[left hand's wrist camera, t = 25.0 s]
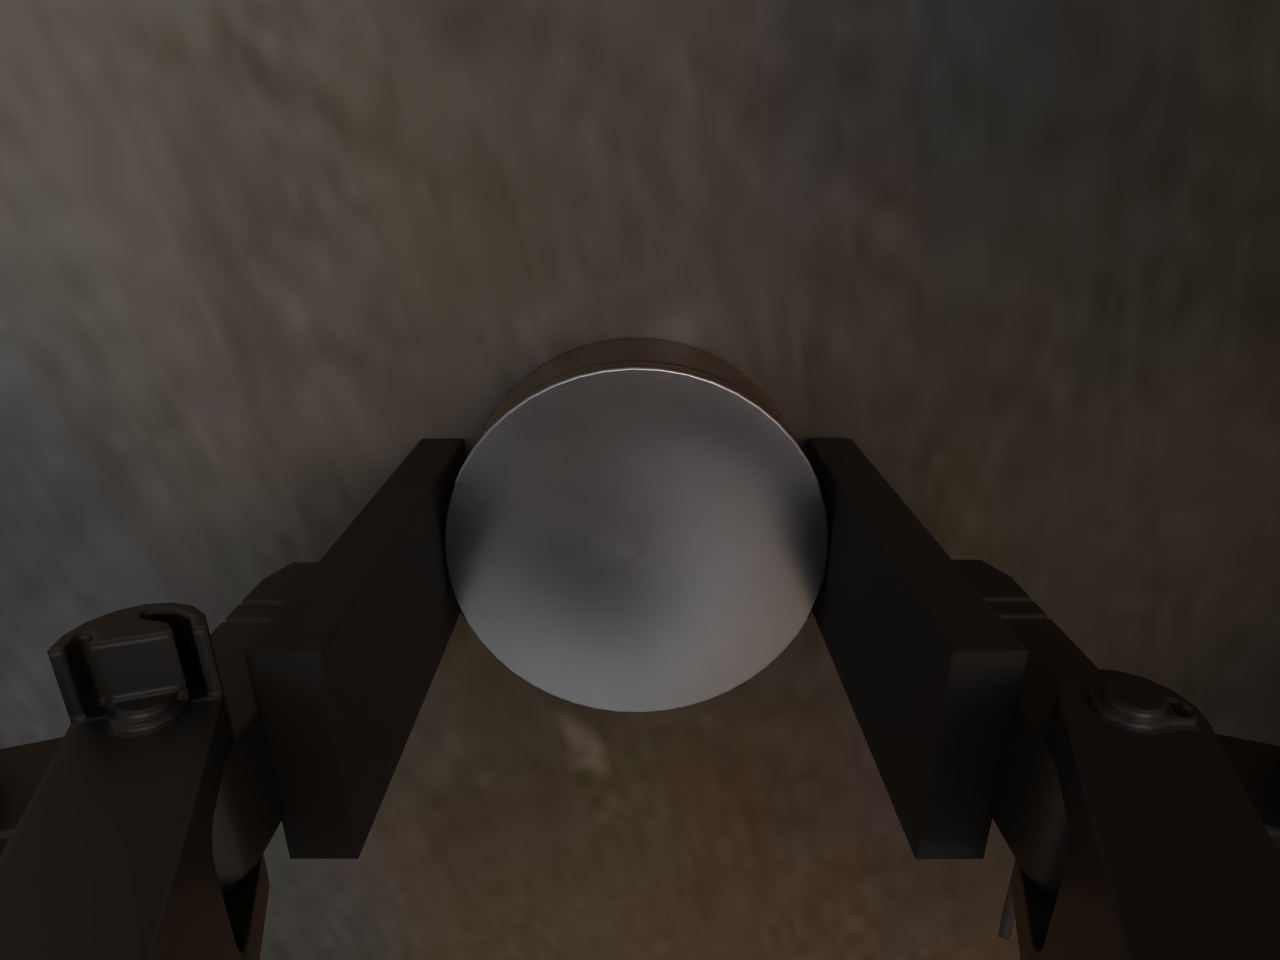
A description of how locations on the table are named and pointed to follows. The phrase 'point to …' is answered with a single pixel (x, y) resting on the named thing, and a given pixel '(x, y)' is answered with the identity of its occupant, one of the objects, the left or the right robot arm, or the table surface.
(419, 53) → the table surface
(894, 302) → the table surface
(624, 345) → the lid
